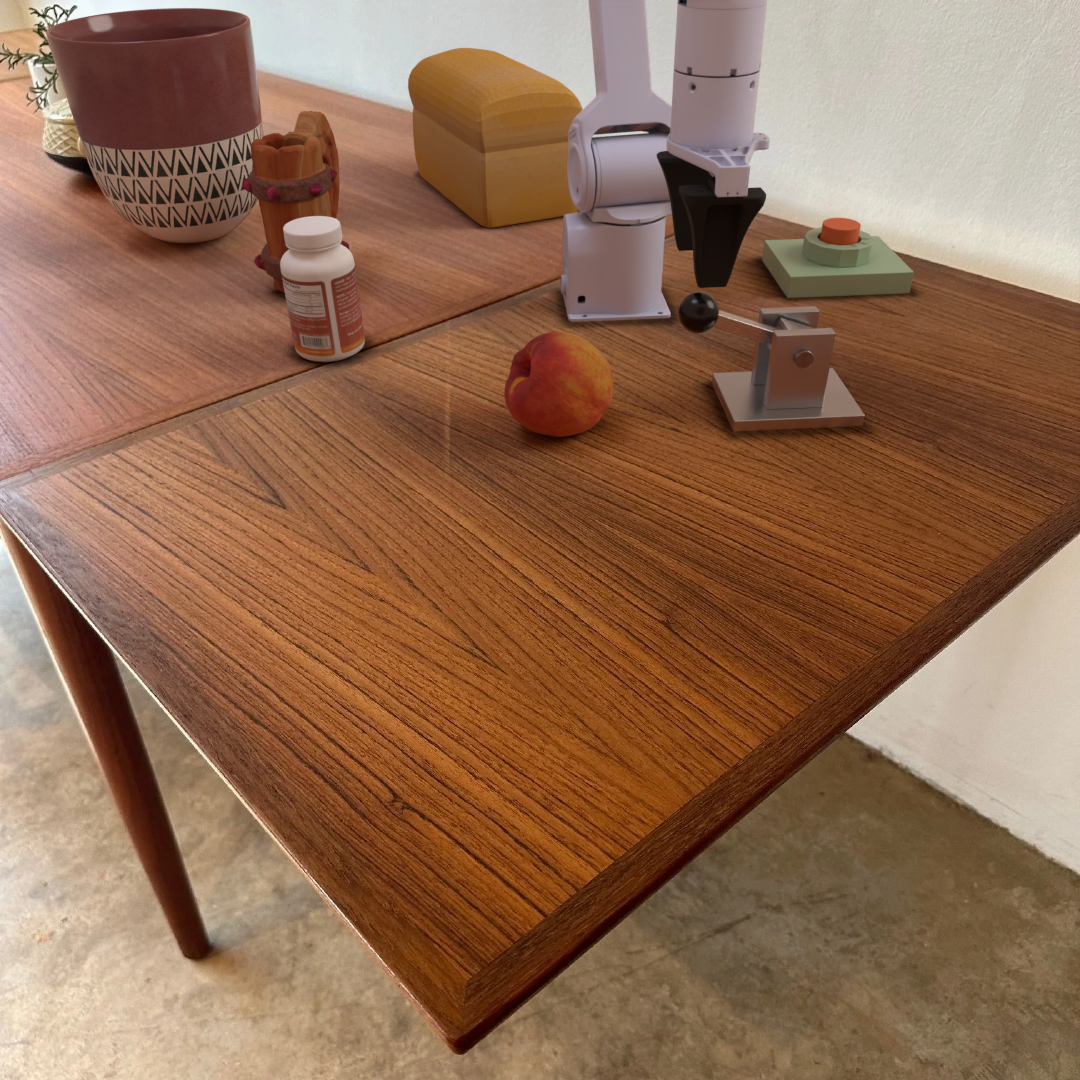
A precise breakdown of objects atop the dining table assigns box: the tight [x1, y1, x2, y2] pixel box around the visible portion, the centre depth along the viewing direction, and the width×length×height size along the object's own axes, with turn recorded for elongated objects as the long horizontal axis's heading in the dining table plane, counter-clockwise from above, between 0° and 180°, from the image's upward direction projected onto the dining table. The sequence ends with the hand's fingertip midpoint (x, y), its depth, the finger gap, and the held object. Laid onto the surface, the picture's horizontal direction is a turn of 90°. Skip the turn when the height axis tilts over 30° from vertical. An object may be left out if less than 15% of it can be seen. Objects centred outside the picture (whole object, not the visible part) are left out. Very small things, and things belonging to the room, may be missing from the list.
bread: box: [407, 47, 584, 229], centre depth 120 cm, size 24×13×15 cm, turn 24°
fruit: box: [503, 331, 614, 438], centre depth 75 cm, size 8×8×8 cm
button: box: [820, 217, 862, 245], centre depth 98 cm, size 4×4×2 cm
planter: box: [45, 7, 265, 244], centre depth 107 cm, size 20×20×21 cm
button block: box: [761, 226, 915, 299], centre depth 100 cm, size 12×10×4 cm
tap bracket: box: [711, 305, 866, 433], centre depth 77 cm, size 10×8×7 cm
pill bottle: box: [280, 216, 366, 363], centre depth 86 cm, size 6×6×11 cm
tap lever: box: [677, 291, 813, 350], centre depth 75 cm, size 11×3×3 cm, turn 94°
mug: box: [242, 110, 350, 294], centre depth 98 cm, size 15×8×15 cm, turn 168°
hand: (700, 266), depth 75 cm, fingers open, 7 cm apart
